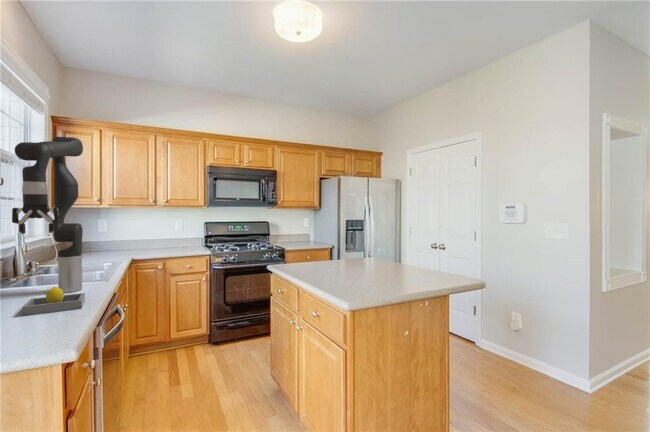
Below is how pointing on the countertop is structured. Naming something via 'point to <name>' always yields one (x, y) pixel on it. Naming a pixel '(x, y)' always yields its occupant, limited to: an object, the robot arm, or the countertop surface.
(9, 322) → the countertop surface
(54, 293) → the lemon
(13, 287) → the countertop surface
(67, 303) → the tray
